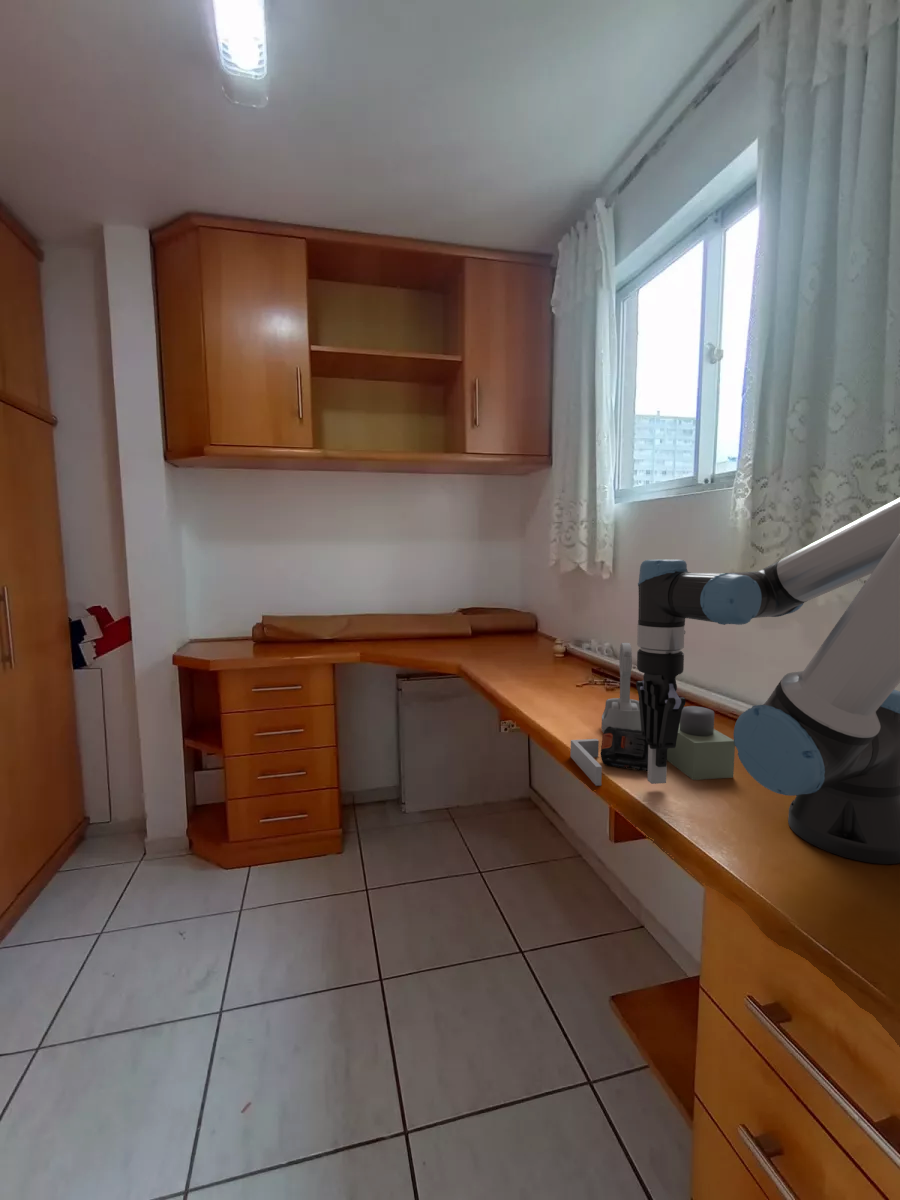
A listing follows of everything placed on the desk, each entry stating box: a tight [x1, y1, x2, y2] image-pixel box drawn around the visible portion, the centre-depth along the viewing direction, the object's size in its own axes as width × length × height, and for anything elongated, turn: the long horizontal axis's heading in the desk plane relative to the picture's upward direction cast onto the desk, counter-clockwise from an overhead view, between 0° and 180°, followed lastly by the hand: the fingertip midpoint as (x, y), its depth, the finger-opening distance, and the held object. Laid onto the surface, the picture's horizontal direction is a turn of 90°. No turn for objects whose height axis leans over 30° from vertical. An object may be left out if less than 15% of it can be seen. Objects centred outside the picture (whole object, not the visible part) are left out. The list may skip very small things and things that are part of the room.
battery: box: [600, 726, 649, 772], centre depth 107 cm, size 12×8×7 cm
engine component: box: [601, 642, 641, 734], centre depth 126 cm, size 11×20×10 cm
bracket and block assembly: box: [570, 705, 736, 787], centre depth 106 cm, size 14×26×11 cm, turn 97°
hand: (656, 781), depth 97 cm, fingers closed
